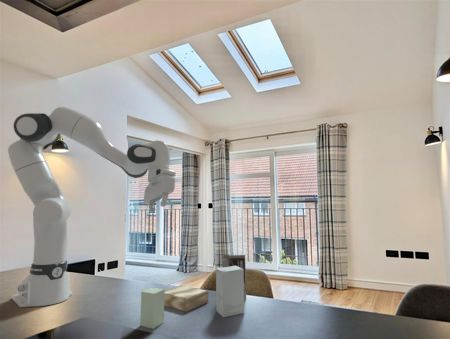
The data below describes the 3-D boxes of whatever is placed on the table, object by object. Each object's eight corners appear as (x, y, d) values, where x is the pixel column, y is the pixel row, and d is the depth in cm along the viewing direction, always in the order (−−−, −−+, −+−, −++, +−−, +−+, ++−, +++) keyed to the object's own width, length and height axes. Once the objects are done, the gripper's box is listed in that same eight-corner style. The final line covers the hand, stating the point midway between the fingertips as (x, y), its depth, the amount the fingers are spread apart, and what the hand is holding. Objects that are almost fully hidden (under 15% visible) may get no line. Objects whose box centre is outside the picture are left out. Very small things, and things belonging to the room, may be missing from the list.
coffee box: (246, 296, 118) (245, 254, 120) (245, 301, 111) (245, 257, 113) (223, 295, 119) (223, 254, 121) (221, 300, 112) (221, 257, 114)
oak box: (158, 304, 109) (158, 292, 109) (180, 296, 119) (180, 284, 119) (187, 312, 101) (187, 299, 102) (208, 302, 111) (208, 290, 111)
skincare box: (236, 308, 104) (236, 265, 106) (245, 314, 99) (244, 268, 100) (215, 312, 101) (215, 267, 102) (222, 318, 95) (222, 270, 97)
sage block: (140, 325, 89) (141, 291, 91) (151, 319, 94) (152, 287, 95) (153, 328, 87) (154, 293, 88) (163, 322, 92) (164, 289, 93)
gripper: (141, 183, 128) (138, 214, 123) (163, 167, 114) (162, 201, 109) (154, 186, 132) (152, 216, 127) (177, 170, 118) (177, 203, 112)
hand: (157, 209), depth 117 cm, fingers open, 8 cm apart
